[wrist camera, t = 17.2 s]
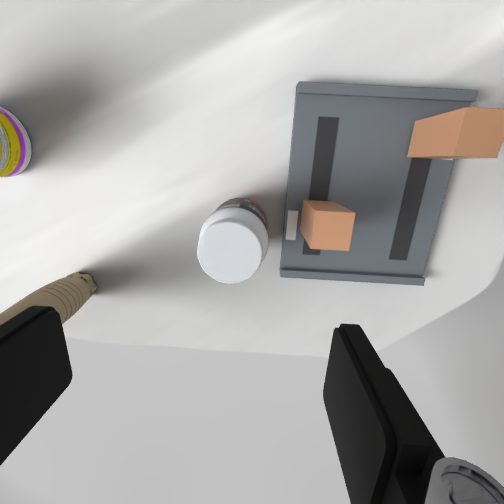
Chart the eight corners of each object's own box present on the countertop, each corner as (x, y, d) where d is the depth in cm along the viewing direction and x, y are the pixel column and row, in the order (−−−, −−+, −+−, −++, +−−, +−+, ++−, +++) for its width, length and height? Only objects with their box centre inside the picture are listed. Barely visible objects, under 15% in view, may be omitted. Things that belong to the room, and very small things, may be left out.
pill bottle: (275, 238, 29) (282, 275, 19) (227, 257, 29) (211, 302, 20) (254, 187, 27) (250, 201, 18) (204, 209, 28) (175, 234, 18)
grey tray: (296, 86, 24) (298, 81, 22) (464, 94, 24) (478, 90, 22) (279, 271, 30) (280, 277, 28) (415, 279, 30) (423, 285, 28)
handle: (69, 251, 30) (-106, 332, 16) (118, 286, 31) (-3, 390, 17) (50, 281, 31) (-129, 381, 17) (97, 313, 32) (-32, 432, 18)
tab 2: (415, 121, 23) (466, 106, 18) (449, 122, 23) (512, 109, 17) (407, 157, 24) (453, 155, 18) (440, 158, 24) (497, 157, 18)
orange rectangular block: (303, 199, 26) (315, 210, 20) (334, 201, 26) (355, 213, 20) (299, 229, 27) (310, 248, 21) (329, 231, 27) (348, 250, 21)
